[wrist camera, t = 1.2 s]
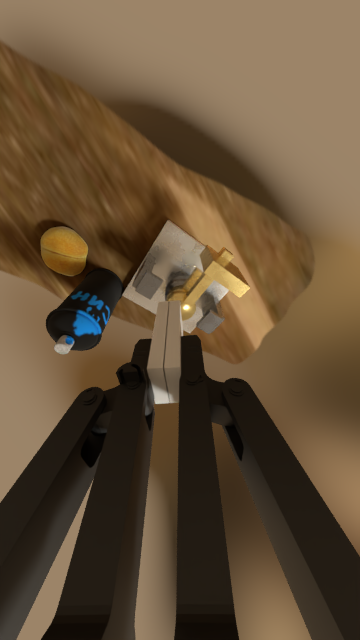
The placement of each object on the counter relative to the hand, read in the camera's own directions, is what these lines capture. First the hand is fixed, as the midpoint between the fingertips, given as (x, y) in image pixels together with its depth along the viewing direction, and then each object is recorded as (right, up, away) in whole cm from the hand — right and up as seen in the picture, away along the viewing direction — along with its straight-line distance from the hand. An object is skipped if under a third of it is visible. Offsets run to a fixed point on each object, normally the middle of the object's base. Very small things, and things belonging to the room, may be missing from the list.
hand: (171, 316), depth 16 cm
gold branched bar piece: (+2, +6, +22) cm, 23 cm away
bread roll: (-21, +13, +26) cm, 36 cm away
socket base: (+1, +8, +29) cm, 30 cm away
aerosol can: (-16, +7, +30) cm, 34 cm away
